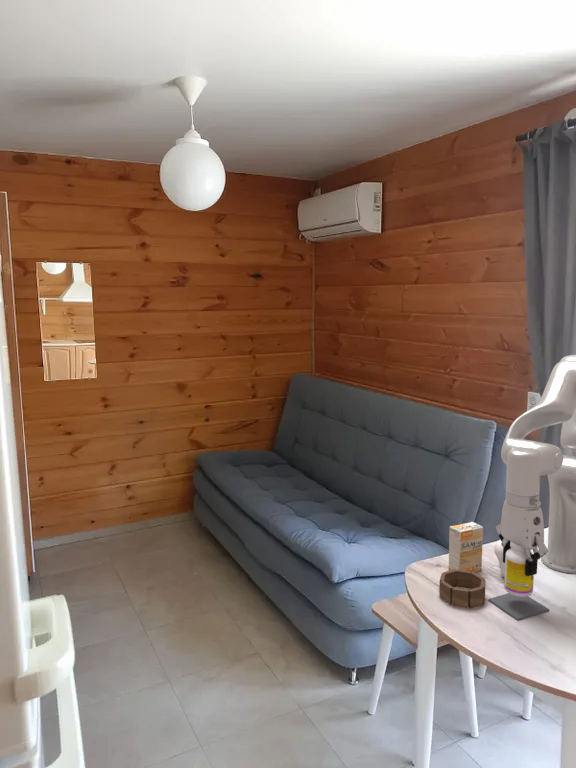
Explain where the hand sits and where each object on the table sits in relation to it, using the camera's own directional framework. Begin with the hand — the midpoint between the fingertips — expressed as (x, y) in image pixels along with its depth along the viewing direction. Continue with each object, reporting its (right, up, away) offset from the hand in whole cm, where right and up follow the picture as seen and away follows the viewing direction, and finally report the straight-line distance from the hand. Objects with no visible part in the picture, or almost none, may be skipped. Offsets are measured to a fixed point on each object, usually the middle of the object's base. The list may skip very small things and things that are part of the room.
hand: (519, 567), depth 142 cm
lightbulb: (+3, -8, +16) cm, 18 cm away
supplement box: (-7, -8, +21) cm, 23 cm away
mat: (0, -10, +2) cm, 10 cm away
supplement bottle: (0, -6, +1) cm, 6 cm away
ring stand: (-12, -10, +7) cm, 17 cm away
